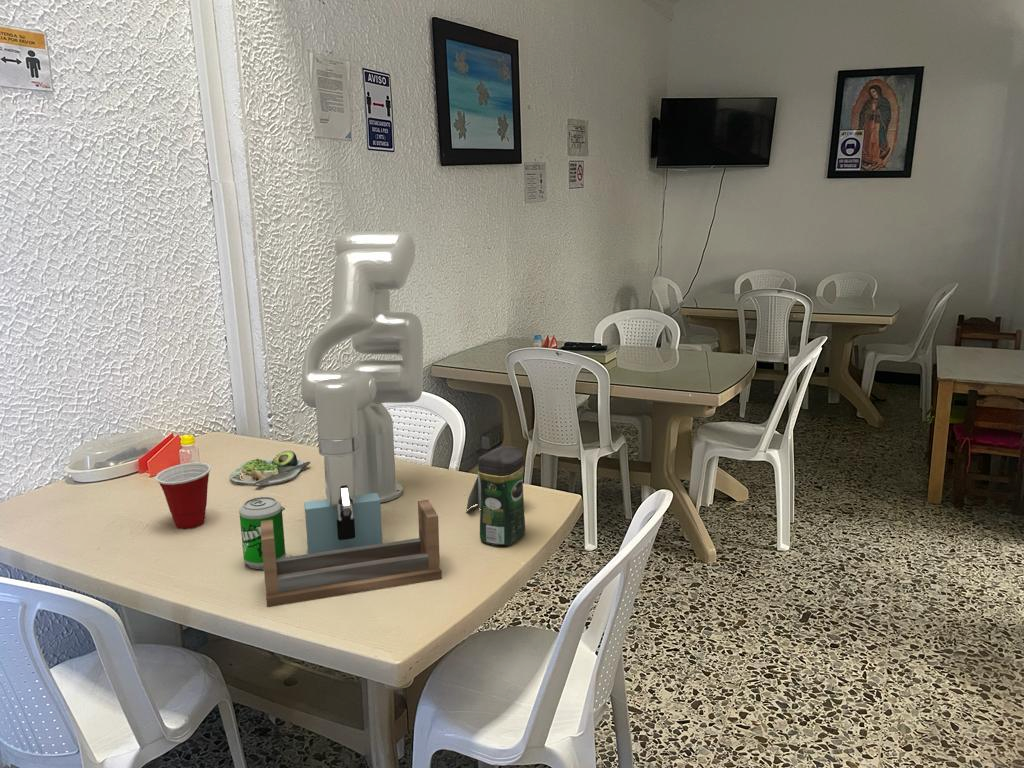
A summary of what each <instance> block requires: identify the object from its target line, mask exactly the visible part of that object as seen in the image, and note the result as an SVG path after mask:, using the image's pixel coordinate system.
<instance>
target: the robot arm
mask: <svg viewBox="0 0 1024 768" xmlns="http://www.w3.org/2000/svg"><path fill="white" fill-rule="evenodd" d="M334 246H335V247H334V249H335V254H336V260H335V261H334V272H333V281H332V282H333V284H332V291H331V293H332V294H331V295H332V296H331V306H330V315H329V319H328V321H327V322H326V323H325V324H324V325H323V326H322V327H321V328H320V329H319V330H318V331H317V332H316V334H315V335H314V336H313V338H312V339H311V341H310V342H309V344H308V346H307V347H306V350H305V353H304V356H303V360H302V361H303V362H302V372H301V382H300V384H301V385H300V391H301V398H302V401H303V402H304V403H305V405H306V406H308V407H310V408H314V409H315V414H316V429H317V430H316V431H317V441H318V442H317V446H318V453H319V455H320V456H322V457H324V458H323V459H324V460H323V461H324V463H323V464H324V481H325V487H324V488H325V495H326V499H327V500H328V504H329V506H330V507H331V508H333V506H337V512H338V520H337V532H338V539H339V540H346V539H353V538H355V523H354V518H353V509H352V505H354V504H355V496H356V495H364V494H372V493H377V494H378V496H379V498H380V504H381V503H382V504H383V503H386V502H389V501H393V500H396V499H398V498H399V497H401V495H402V494H403V490H404V489H403V485H402V484H400V483H399V482H397V481H396V465H395V464H396V463H395V461H396V459H395V443H394V441H395V438H394V421H393V418H392V415H391V414H390V411H388V409H387V408H386V407H385V405H384V404H385V403H386V404H390V403H391V404H396V403H397V404H398V403H399V404H403V403H406V404H408V403H415V402H417V401H418V400H420V398H421V396H422V393H423V387H424V384H423V383H424V334H423V326H422V323H421V322H422V321H421V319H420V318H419V316H418V315H416V314H415V313H413V312H406V311H405V312H403V311H402V312H401V311H400V312H399V311H398V312H396V311H395V312H393V311H391V307H390V306H391V305H390V302H391V300H390V297H391V295H390V294H391V293H390V291H394V290H395V291H397V290H400V289H402V288H403V287H404V285H405V284H406V282H407V280H408V277H409V275H410V272H411V270H412V268H413V265H414V262H415V261H414V260H415V256H416V246H415V242H414V239H413V237H412V236H411V234H410V233H408V232H406V231H399V230H398V231H395V230H394V231H393V230H392V231H391V230H390V231H387V230H386V231H385V230H384V231H379V230H378V231H377V230H376V231H375V230H369V231H368V230H367V231H366V230H365V231H363V230H362V231H360V230H359V231H358V230H357V231H350V232H349V231H348V232H345V233H342V234H340V235H339V236H338V237H337V238H336V239H335V245H334ZM349 339H351V344H352V347H353V349H354V351H356V352H357V353H359V354H365V355H399V356H401V358H402V360H392V359H391V360H385V359H383V360H382V359H379V360H378V359H376V360H375V359H373V360H372V359H367V360H358V361H353V362H352V363H350V364H348V366H347V367H346V368H345V370H344V369H340V370H339V369H330V370H329V369H328V370H327V369H322V370H321V367H322V363H323V359H324V358H325V356H326V355H327V354H328V352H329V351H331V350H332V349H333V348H334V347H335V346H337V345H339V344H341V343H343V342H344V341H345V342H346V341H347V340H349ZM341 501H342V504H339V502H341ZM340 508H343V510H340Z"/></svg>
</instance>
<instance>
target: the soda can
mask: <svg viewBox="0 0 1024 768" xmlns="http://www.w3.org/2000/svg"><path fill="white" fill-rule="evenodd" d="M282 508H283V506H282V504H281V502H279V501H278V500H277V499H276V498H275V497H272V496H260V497H252V498H250V499H247V500H246V501H244V503H242V505H241V506H240V508H239V509H238V512H239V523H240V531H241V532H240V534H241V544H242V554H243V555H242V557H243V562H244V563H245V564H246V565H248V566H249V567H250V568H251V569H254V570H264V564H263V553H262V541H261V521H265V520H273V530H274V542H275V553H276V559H277V558H284V557H286V545H285V543H286V542H285V531H284V520H283V509H282Z"/></svg>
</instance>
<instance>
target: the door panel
mask: <svg viewBox="0 0 1024 768" xmlns="http://www.w3.org/2000/svg"><path fill="white" fill-rule="evenodd" d="M303 503H304V505H303V506H304V516H305V517H304V518H305V529H306V530H305V532H306V543H307V544H306V545H307V554H312V553H319V552H326V551H333V550H340V549H347V548H354V547H361V546H368V545H375V544H382V543H383V530H382V529H383V528H382V510H381V508H382V507H381V503H380V498H379V496H378V494H377V493H372V494H364V495H356V496H355V504H354V505H352V509H353V518H354V523H355V538H353V539H346V540H339V539H338V532H337V520H338V512H337V506H333V508H331V507H330V506H329V504H328V500H327V498H326V499H318V500H317V499H316V500H315V499H314V500H310V501H308V500H307V501H303ZM339 504H342V501H341V502H339ZM340 510H343V508H340Z"/></svg>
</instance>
